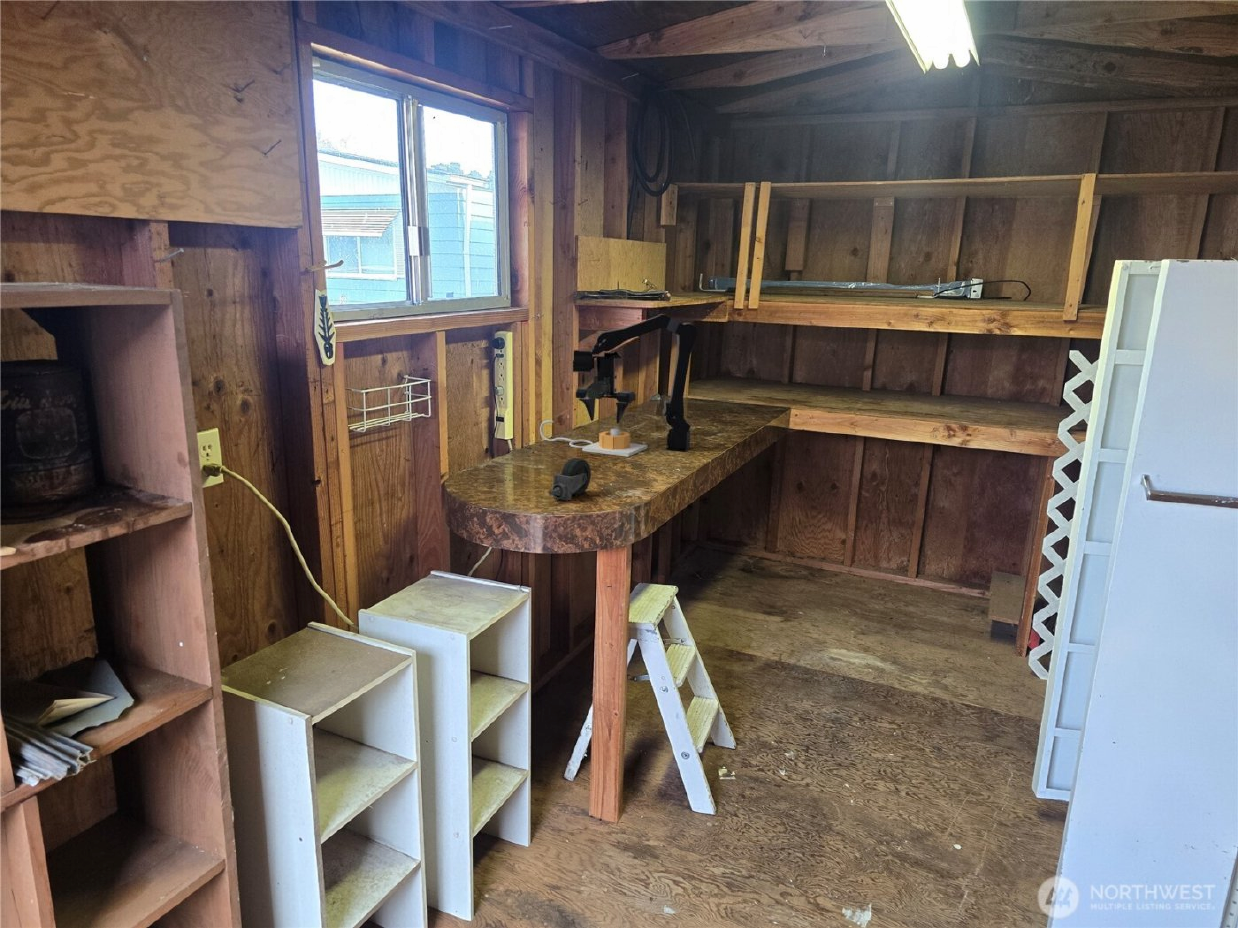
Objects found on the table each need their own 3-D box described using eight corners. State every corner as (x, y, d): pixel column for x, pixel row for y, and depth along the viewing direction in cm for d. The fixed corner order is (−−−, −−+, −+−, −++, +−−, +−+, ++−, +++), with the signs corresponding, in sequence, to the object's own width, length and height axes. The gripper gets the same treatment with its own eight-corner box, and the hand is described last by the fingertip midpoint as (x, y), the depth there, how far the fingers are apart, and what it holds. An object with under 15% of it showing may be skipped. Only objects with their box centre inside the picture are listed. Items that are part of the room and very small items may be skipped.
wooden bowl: (633, 445, 246) (634, 432, 245) (621, 450, 238) (621, 437, 237) (608, 442, 250) (608, 430, 249) (594, 447, 242) (595, 434, 241)
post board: (647, 448, 247) (647, 428, 245) (628, 456, 234) (628, 435, 233) (603, 442, 254) (603, 423, 252) (582, 450, 241) (582, 430, 240)
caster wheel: (576, 492, 198) (540, 500, 185) (578, 455, 196) (542, 460, 183) (594, 496, 195) (559, 504, 182) (597, 458, 193) (561, 463, 181)
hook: (547, 436, 263) (596, 452, 253) (530, 440, 255) (579, 457, 246) (549, 415, 260) (599, 430, 251) (532, 419, 253) (582, 435, 243)
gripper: (566, 373, 237) (566, 423, 241) (620, 377, 229) (619, 428, 233) (584, 369, 247) (584, 417, 250) (636, 373, 239) (635, 423, 242)
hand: (605, 421), depth 244 cm, fingers open, 9 cm apart
